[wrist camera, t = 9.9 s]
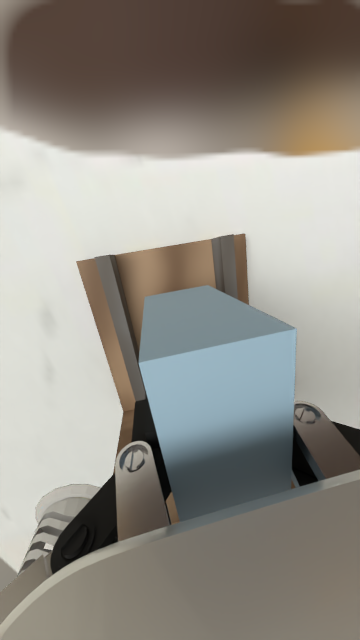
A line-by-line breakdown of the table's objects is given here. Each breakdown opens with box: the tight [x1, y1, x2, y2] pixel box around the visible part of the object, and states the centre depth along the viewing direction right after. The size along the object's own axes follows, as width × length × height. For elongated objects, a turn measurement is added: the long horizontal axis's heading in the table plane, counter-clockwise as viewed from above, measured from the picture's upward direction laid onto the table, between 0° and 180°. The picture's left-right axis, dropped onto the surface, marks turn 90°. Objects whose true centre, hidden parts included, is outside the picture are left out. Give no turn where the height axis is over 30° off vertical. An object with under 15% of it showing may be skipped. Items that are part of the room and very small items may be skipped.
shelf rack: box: [76, 234, 295, 525], centre depth 15 cm, size 14×16×12 cm
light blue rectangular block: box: [139, 285, 297, 522], centre depth 10 cm, size 4×10×8 cm, turn 9°
